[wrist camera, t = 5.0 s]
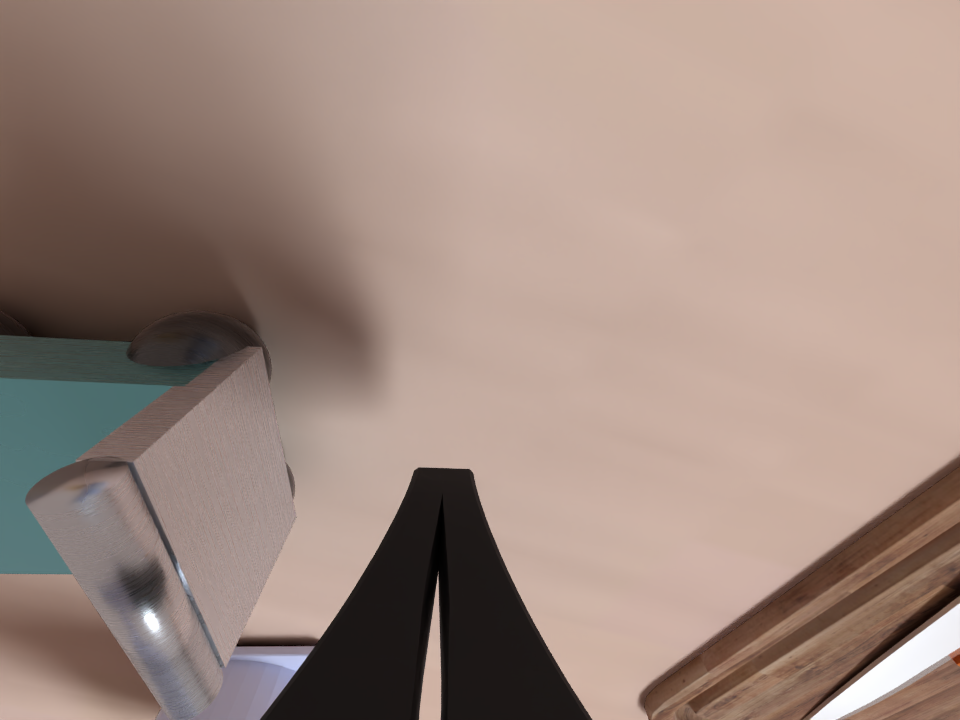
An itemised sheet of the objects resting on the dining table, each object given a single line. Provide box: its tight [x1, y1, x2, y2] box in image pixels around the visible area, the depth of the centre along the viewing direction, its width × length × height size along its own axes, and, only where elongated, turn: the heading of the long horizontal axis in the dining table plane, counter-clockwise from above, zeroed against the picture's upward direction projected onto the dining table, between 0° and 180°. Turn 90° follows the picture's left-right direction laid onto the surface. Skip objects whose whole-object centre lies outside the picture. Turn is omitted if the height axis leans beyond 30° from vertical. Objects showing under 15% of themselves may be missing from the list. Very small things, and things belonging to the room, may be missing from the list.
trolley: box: [0, 311, 297, 720], centre depth 9 cm, size 7×9×6 cm
